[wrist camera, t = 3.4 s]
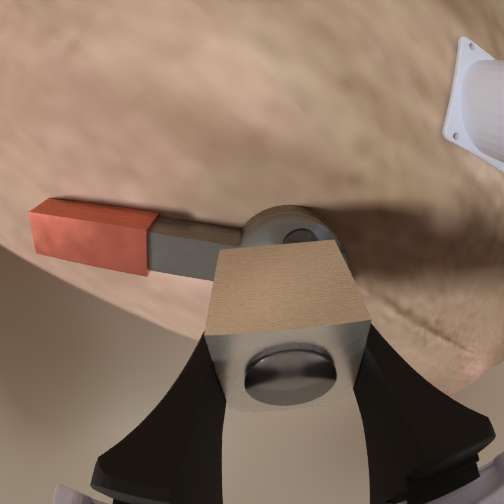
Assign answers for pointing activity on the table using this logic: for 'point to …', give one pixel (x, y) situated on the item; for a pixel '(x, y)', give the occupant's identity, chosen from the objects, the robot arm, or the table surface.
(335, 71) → the table surface
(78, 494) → the robot arm
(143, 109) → the table surface
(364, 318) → the cube block
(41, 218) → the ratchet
